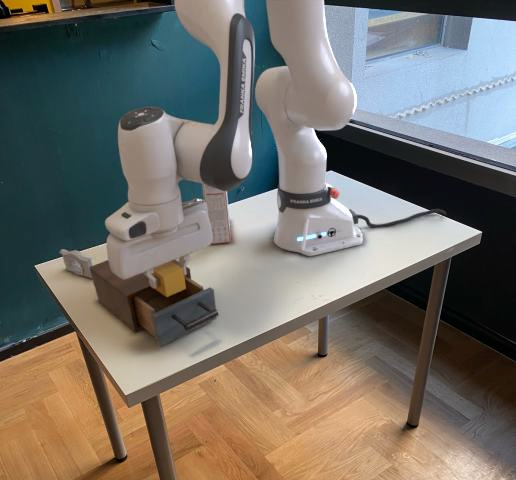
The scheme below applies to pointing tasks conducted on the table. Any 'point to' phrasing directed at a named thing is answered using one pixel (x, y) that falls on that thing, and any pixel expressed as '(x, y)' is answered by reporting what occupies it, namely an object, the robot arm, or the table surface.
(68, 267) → the garden wall model
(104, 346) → the table surface
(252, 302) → the table surface
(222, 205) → the cracker box
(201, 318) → the drawer
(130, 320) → the cabinet
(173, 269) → the block
